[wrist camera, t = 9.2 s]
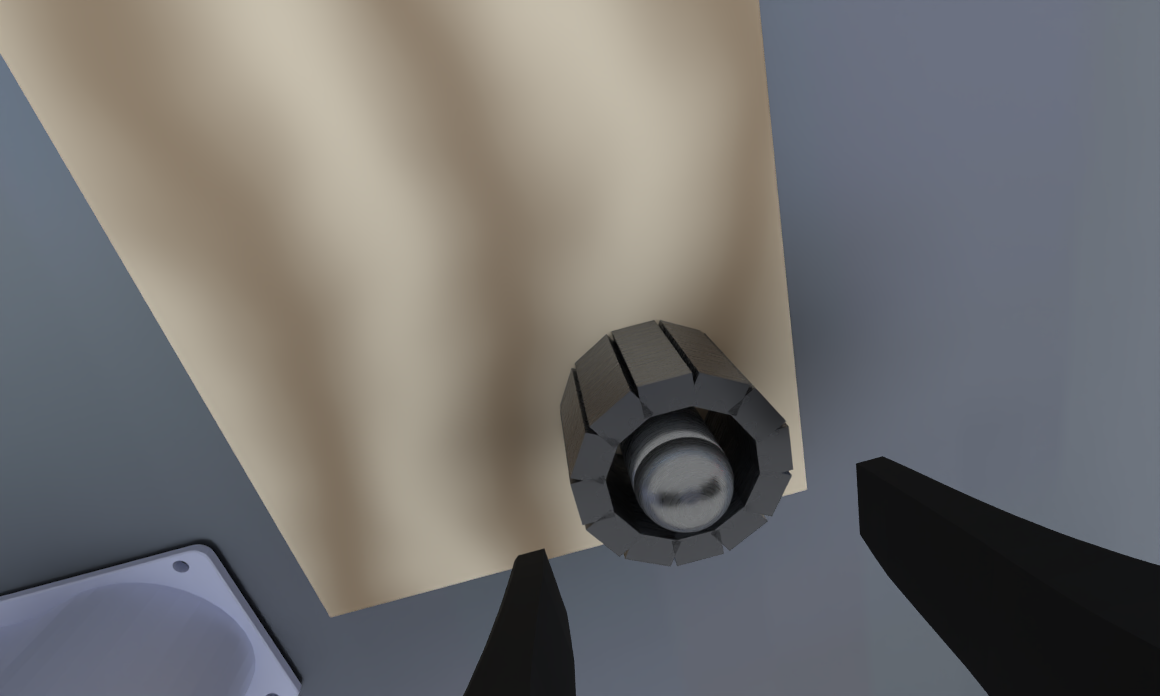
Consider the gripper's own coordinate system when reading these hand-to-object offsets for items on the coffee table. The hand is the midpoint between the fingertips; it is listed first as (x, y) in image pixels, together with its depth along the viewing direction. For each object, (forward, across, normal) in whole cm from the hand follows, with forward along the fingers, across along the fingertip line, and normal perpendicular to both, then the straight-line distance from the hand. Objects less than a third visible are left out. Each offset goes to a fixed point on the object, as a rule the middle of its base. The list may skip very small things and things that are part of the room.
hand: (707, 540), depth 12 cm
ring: (+6, 0, 0) cm, 6 cm away
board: (+7, +4, -5) cm, 10 cm away
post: (+7, 0, 0) cm, 7 cm away
